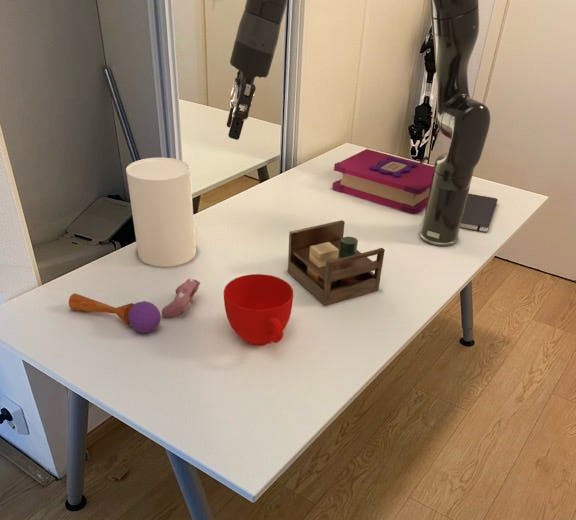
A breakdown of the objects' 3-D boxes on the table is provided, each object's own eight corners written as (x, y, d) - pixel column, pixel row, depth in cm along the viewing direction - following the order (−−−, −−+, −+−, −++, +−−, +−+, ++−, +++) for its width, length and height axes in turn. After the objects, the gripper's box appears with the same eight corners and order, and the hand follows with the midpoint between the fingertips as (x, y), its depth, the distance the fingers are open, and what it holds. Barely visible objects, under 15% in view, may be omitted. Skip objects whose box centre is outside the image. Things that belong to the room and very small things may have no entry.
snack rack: (338, 259, 139) (342, 219, 133) (378, 290, 129) (384, 249, 122) (287, 272, 134) (289, 231, 127) (325, 306, 123) (328, 263, 117)
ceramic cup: (245, 374, 105) (245, 328, 98) (216, 324, 116) (214, 280, 110) (310, 358, 109) (314, 313, 103) (276, 312, 121) (277, 269, 114)
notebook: (452, 195, 172) (439, 223, 157) (454, 190, 171) (440, 218, 156) (496, 203, 169) (487, 233, 153) (498, 198, 168) (488, 227, 152)
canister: (189, 237, 145) (183, 155, 133) (201, 262, 136) (195, 177, 123) (134, 243, 142) (122, 160, 129) (142, 269, 132) (130, 182, 119)
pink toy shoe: (178, 327, 118) (191, 303, 113) (158, 316, 117) (170, 291, 113) (194, 302, 125) (207, 278, 121) (175, 291, 125) (187, 267, 120)
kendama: (82, 283, 119) (165, 300, 112) (86, 310, 122) (167, 328, 115) (61, 291, 114) (147, 310, 107) (66, 320, 117) (149, 339, 110)
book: (366, 169, 186) (369, 145, 181) (447, 192, 174) (452, 167, 169) (330, 188, 173) (332, 163, 168) (415, 215, 161) (420, 188, 156)
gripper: (278, 57, 103) (252, 148, 112) (270, 46, 115) (247, 129, 123) (238, 42, 101) (214, 136, 110) (234, 32, 113) (213, 118, 121)
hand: (232, 132), depth 117 cm, fingers open, 8 cm apart
